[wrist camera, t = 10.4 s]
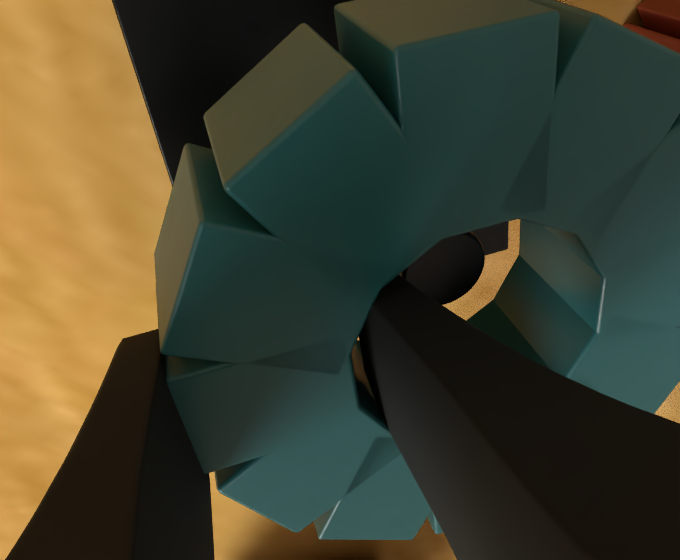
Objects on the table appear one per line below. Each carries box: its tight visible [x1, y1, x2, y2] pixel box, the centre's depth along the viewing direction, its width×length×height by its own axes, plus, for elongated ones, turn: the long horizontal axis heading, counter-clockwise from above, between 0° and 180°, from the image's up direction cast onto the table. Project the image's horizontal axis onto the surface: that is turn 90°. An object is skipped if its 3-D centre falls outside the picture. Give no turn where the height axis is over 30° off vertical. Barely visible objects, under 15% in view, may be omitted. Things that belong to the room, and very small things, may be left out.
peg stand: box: [112, 0, 508, 305], centre depth 14 cm, size 9×9×7 cm
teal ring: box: [154, 0, 680, 540], centre depth 11 cm, size 9×9×3 cm
